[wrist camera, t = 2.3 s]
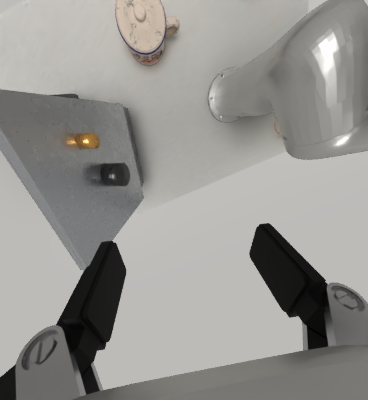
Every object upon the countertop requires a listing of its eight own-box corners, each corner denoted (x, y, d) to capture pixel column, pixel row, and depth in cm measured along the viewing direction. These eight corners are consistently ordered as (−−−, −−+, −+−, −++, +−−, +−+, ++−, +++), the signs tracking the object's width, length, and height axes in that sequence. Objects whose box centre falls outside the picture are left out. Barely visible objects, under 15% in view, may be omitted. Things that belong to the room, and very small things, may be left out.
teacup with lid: (133, 69, 36) (121, 51, 26) (119, 15, 32) (100, -32, 22) (180, 62, 37) (186, 41, 27) (173, 8, 32) (178, -42, 22)
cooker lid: (115, 104, 30) (136, 103, 29) (138, 198, 41) (154, 198, 40) (-42, 88, 11) (7, 82, 10) (80, 269, 22) (107, 272, 21)
